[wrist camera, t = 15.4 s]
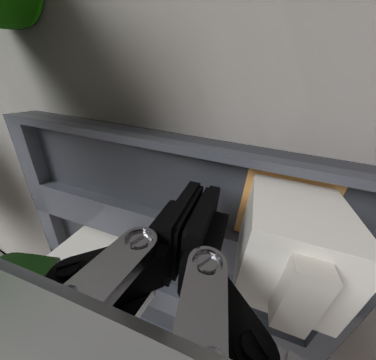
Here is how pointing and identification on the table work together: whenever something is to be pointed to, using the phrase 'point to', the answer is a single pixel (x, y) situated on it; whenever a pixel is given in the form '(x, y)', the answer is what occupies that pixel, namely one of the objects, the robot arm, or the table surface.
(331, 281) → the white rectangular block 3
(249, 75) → the table surface
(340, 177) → the switch board
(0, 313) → the robot arm
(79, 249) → the white stepped block
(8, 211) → the table surface
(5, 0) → the cup
